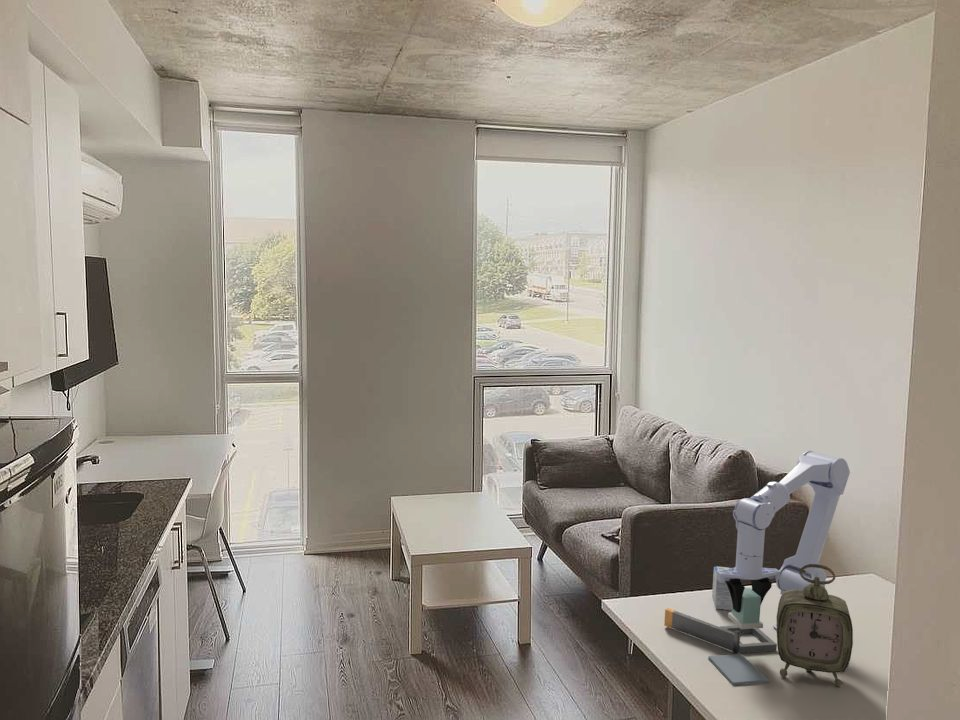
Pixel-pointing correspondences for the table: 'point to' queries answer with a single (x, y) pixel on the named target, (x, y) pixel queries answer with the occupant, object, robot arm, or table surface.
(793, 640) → the tabletop clock
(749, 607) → the plug
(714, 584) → the medicine box
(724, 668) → the mat
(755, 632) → the dock
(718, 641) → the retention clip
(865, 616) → the table surface
